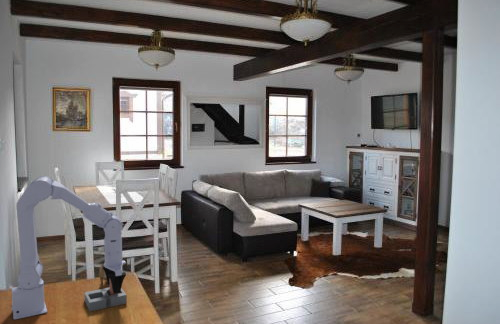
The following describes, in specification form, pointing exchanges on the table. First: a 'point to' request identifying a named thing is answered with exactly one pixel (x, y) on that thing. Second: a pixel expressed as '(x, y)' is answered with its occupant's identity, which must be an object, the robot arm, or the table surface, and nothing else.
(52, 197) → the robot arm
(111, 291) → the peg
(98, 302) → the hole block
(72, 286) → the table surface
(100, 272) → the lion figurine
